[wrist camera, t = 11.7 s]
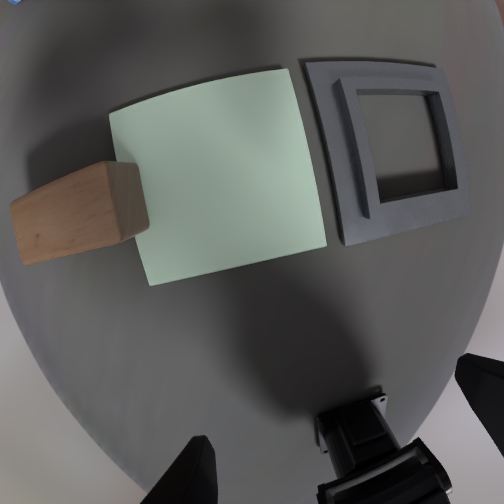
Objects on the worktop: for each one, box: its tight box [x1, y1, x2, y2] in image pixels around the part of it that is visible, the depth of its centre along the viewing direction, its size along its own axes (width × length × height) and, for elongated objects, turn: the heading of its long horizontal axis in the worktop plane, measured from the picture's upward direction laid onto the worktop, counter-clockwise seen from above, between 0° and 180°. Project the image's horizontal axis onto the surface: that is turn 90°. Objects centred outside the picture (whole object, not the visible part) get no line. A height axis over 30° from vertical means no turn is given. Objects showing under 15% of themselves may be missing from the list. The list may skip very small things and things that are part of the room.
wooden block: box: [10, 161, 150, 265], centre depth 13 cm, size 4×4×8 cm
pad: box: [109, 69, 327, 286], centre depth 15 cm, size 11×11×1 cm
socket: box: [303, 61, 471, 246], centre depth 15 cm, size 12×12×2 cm
